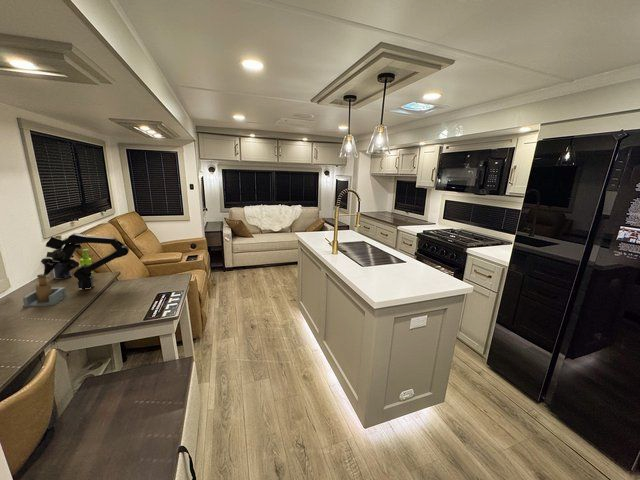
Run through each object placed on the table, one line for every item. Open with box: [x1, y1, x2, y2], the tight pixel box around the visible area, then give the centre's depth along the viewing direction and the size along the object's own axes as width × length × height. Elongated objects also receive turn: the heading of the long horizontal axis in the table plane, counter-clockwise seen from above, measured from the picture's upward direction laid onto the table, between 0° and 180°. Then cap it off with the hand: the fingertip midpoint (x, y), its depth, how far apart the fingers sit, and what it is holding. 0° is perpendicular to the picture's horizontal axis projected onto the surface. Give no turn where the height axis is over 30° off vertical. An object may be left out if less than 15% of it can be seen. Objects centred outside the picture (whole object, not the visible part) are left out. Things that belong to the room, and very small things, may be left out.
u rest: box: [22, 287, 67, 308], centre depth 147 cm, size 12×13×6 cm
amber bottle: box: [35, 273, 52, 302], centre depth 146 cm, size 6×6×15 cm
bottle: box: [51, 234, 73, 279], centre depth 179 cm, size 9×9×30 cm
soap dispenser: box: [79, 248, 94, 273], centre depth 185 cm, size 6×7×20 cm
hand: (52, 275), depth 150 cm, fingers open, 9 cm apart
